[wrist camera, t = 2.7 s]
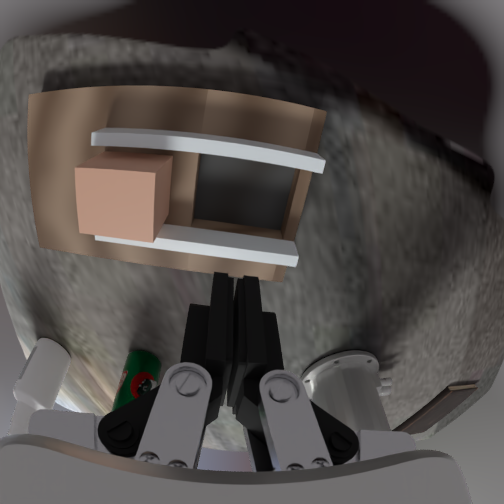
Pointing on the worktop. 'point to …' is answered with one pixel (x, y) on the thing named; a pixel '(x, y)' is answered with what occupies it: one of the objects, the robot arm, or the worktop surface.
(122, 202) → the block
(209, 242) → the channel
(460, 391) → the hardcover book
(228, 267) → the board
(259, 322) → the robot arm
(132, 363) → the soda can
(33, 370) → the white bottle
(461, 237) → the worktop surface
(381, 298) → the worktop surface
